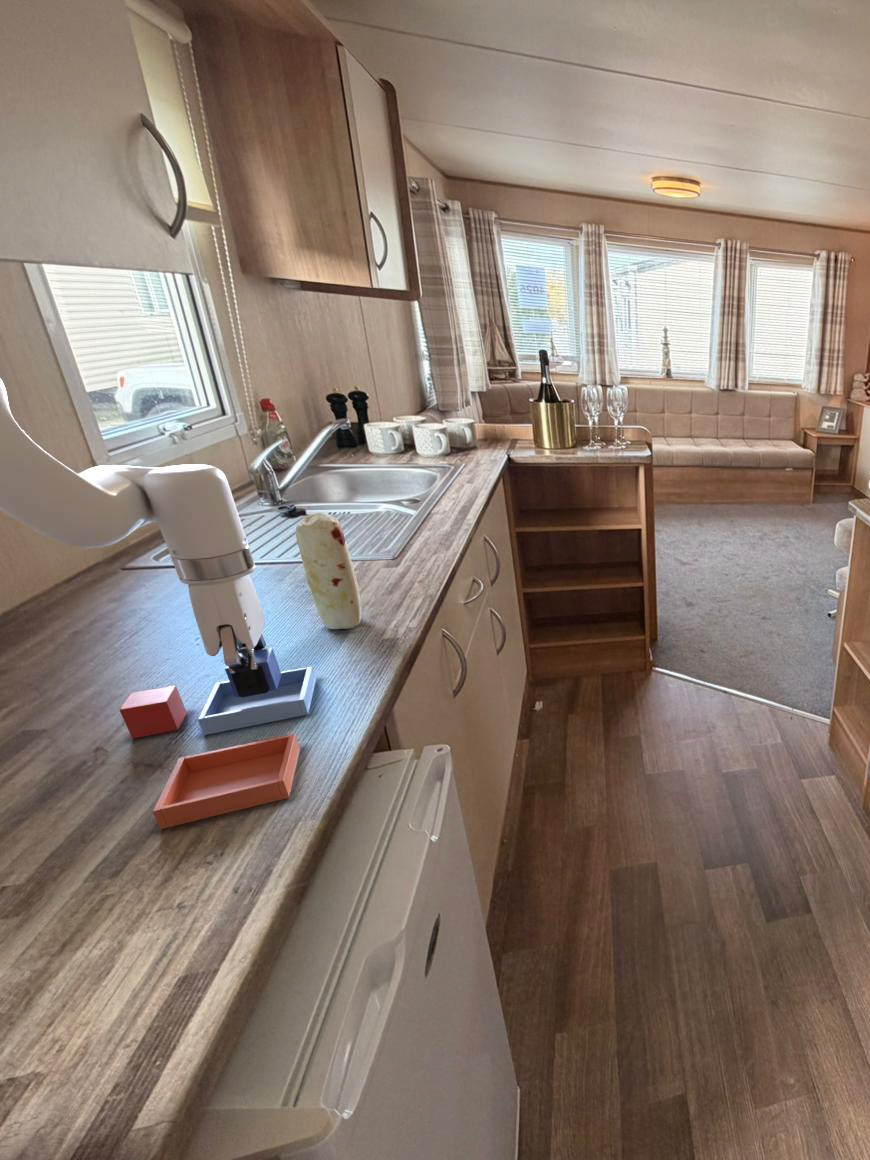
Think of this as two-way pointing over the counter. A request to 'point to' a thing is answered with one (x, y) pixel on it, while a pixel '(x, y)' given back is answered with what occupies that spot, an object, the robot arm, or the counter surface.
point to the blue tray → (258, 703)
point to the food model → (329, 571)
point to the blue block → (268, 665)
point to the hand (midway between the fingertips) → (258, 683)
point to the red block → (153, 711)
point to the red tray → (228, 780)
